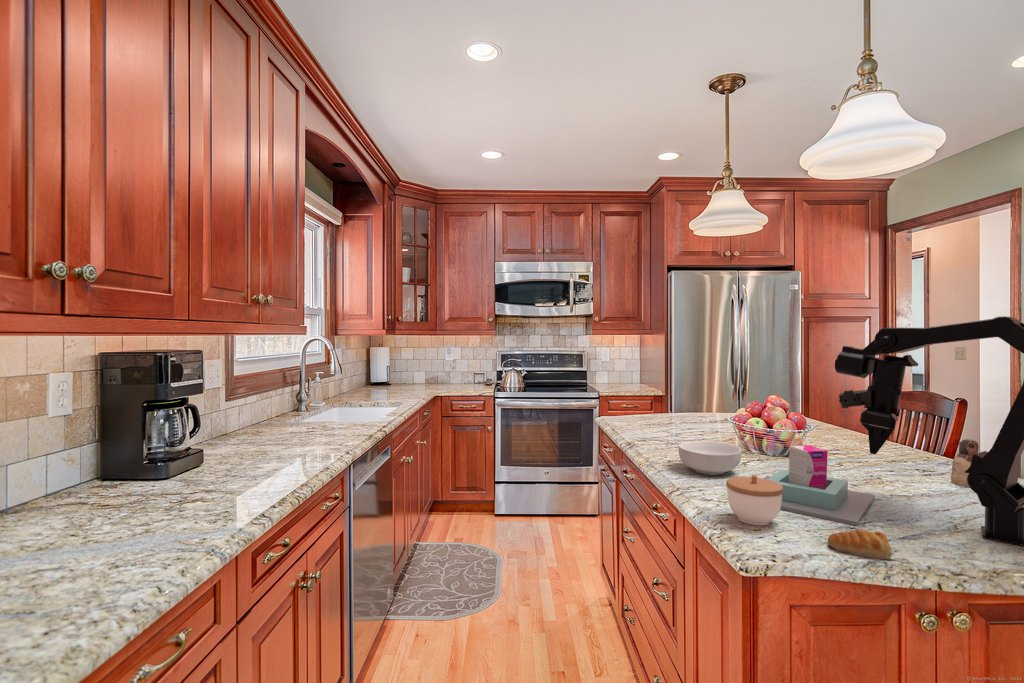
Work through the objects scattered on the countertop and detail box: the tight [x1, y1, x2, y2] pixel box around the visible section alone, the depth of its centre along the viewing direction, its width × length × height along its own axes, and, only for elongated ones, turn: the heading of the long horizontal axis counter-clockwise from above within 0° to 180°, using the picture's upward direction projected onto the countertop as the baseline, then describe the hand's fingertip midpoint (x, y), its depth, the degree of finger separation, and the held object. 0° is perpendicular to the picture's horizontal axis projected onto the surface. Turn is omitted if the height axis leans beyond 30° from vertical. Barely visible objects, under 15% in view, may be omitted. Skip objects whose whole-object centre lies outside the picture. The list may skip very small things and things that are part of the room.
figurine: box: [950, 438, 980, 488], centre depth 134 cm, size 7×7×12 cm
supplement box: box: [788, 444, 829, 490], centre depth 122 cm, size 6×6×12 cm
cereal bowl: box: [678, 440, 742, 476], centre depth 146 cm, size 17×17×7 cm
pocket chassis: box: [762, 469, 876, 527], centre depth 122 cm, size 24×24×4 cm
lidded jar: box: [726, 474, 783, 526], centre depth 108 cm, size 11×11×9 cm
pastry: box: [827, 529, 893, 560], centre depth 94 cm, size 9×7×4 cm
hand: (874, 449), depth 118 cm, fingers open, 9 cm apart
